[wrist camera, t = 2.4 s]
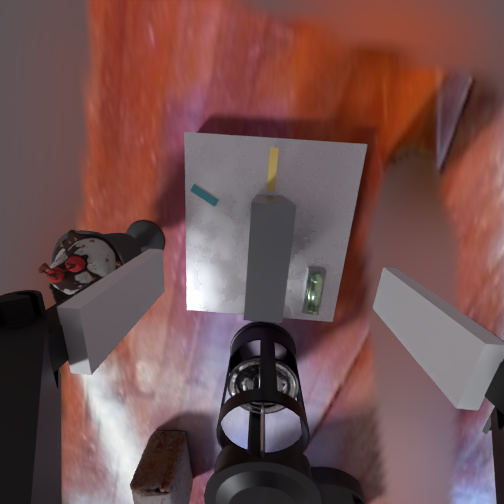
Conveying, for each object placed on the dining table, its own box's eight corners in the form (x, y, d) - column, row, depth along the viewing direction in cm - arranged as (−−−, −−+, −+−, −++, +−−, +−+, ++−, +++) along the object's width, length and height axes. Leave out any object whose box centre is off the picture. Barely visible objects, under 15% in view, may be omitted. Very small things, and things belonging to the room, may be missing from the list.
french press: (234, 313, 32) (173, 594, 10) (301, 322, 32) (384, 625, 10) (226, 380, 36) (169, 696, 14) (287, 388, 36) (326, 719, 14)
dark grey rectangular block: (276, 277, 27) (282, 323, 18) (249, 275, 27) (243, 320, 18) (289, 149, 23) (305, 130, 14) (258, 147, 23) (256, 127, 14)
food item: (199, 483, 43) (181, 567, 34) (156, 481, 44) (127, 564, 34) (191, 428, 39) (168, 507, 30) (145, 427, 40) (108, 504, 30)
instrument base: (326, 309, 31) (337, 331, 27) (194, 298, 32) (182, 317, 27) (355, 148, 26) (376, 141, 21) (192, 137, 26) (177, 127, 21)
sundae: (162, 208, 29) (61, 237, 14) (177, 260, 30) (100, 330, 16) (112, 217, 29) (-34, 253, 15) (129, 267, 31) (15, 342, 17)
